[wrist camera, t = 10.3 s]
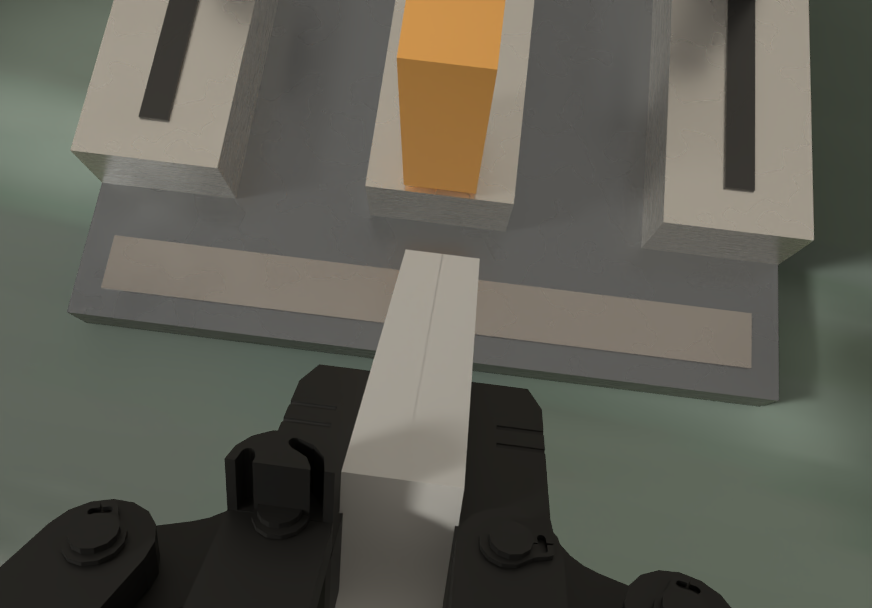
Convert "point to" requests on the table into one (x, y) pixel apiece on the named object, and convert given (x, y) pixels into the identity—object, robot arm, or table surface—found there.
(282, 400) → the table surface
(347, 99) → the breaker panel
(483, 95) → the breaker handle
